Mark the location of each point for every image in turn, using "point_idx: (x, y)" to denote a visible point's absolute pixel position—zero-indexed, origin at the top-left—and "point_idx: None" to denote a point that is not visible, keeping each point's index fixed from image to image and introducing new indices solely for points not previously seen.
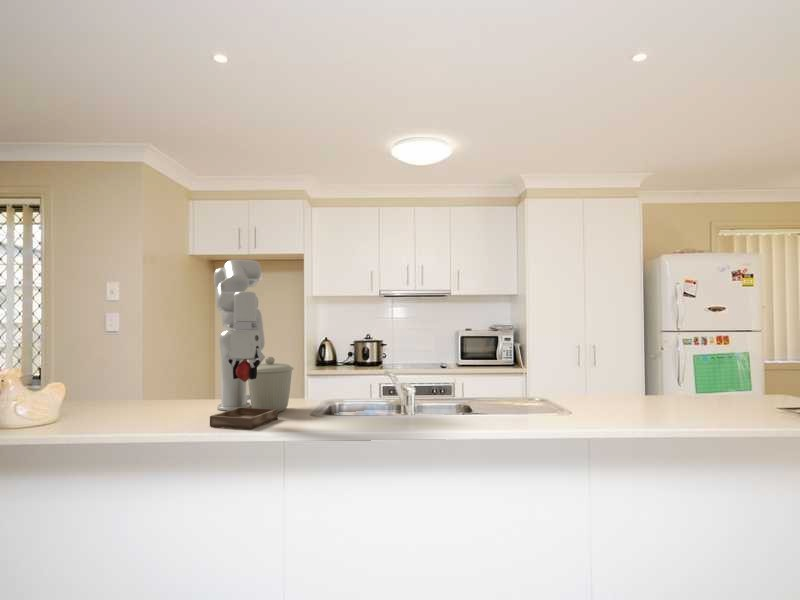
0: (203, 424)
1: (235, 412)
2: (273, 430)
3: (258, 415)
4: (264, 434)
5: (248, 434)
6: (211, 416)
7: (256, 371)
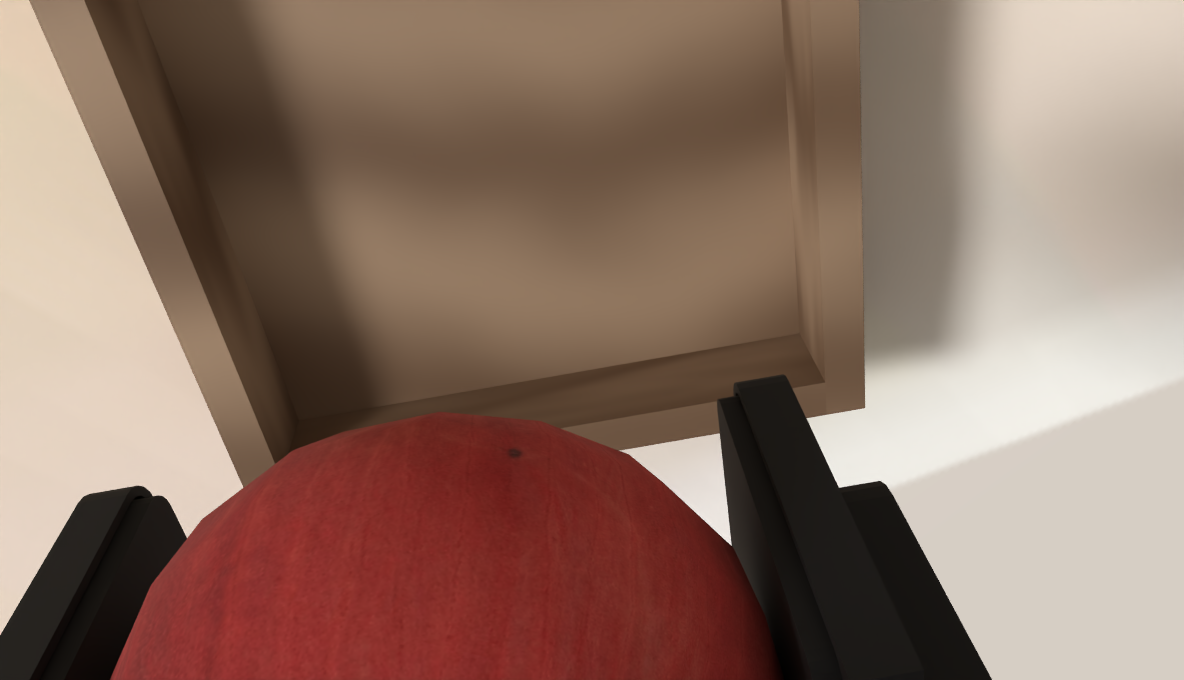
0: (97, 393)
1: (117, 17)
2: (1093, 259)
3: (836, 234)
4: (1078, 408)
5: (921, 468)
6: None
7: (937, 601)
